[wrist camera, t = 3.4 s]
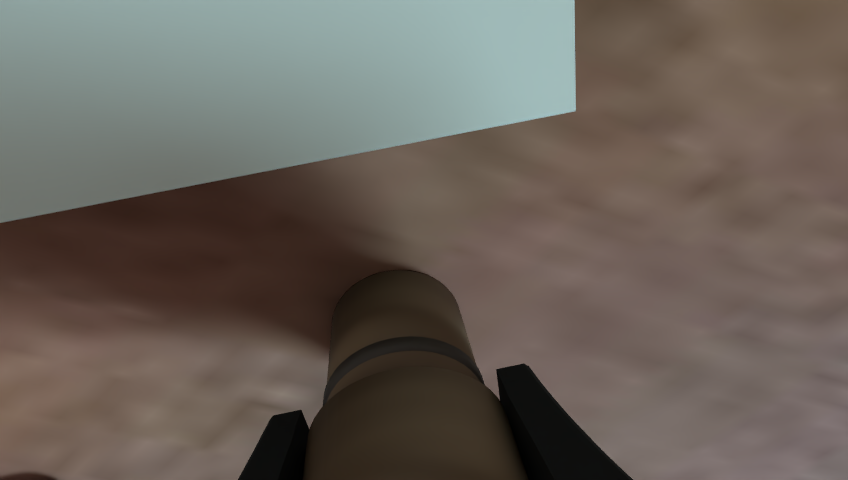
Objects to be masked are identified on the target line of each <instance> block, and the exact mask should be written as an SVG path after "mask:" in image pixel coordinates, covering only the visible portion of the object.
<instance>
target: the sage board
mask: <svg viewBox="0 0 848 480" xmlns="http://www.w3.org/2000/svg"><path fill="white" fill-rule="evenodd" d="M573 111H576V98H575V11H574V0H0V223H3V222H8V221H13V220H18V219H23V218H28V217H33V216H39V215H44V214H49V213H54V212H59V211H64V210H69V209H75V208H80V207H85V206H90V205H95V204H100V203H105V202H110V201H116V200H121V199H126V198H131V197H136V196H141V195H146V194H152V193H157V192H162V191H167V190H172V189H177V188H182V187H188V186H193V185H198V184H203V183H208V182H213V181H218V180H224V179H229V178H234V177H239V176H244V175H249V174H254V173H260V172H265V171H270V170H275V169H280V168H285V167H290V166H296V165H301V164H306V163H311V162H316V161H321V160H326V159H332V158H337V157H342V156H347V155H352V154H357V153H362V152H368V151H373V150H378V149H383V148H388V147H393V146H398V145H404V144H409V143H414V142H419V141H424V140H429V139H434V138H440V137H445V136H450V135H455V134H460V133H465V132H470V131H476V130H481V129H486V128H491V127H496V126H501V125H506V124H512V123H517V122H522V121H527V120H532V119H537V118H542V117H547V116H553V115H558V114H563V113H568V112H573Z"/></svg>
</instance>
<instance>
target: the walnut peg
mask: <svg viewBox="0 0 848 480" xmlns="http://www.w3.org/2000/svg"><path fill="white" fill-rule="evenodd" d="M303 480H529V479H528V476H527V473H526V470H525V468H524V465H523V462H522V459H521V456H520V453H519V450H518V447H517V444H516V441H515V438H514V435H513V432H512V429H511V426H510V424H509V421H508V418H507V415H506V412H505V410H504V407H503V405H502V404H501V402H500V401H499V399H498V397H497V396H496V395H495V394H494V393H493V392H492V391H491V390H490V389H489V388H487V387H486V386H485V385H484V381H483V378H482V375H481V373H480V371H479V369H478V367H477V366H476V363H475V359H474V356H473V353H472V349H471V346H470V343H469V340H468V336H467V333H466V330H465V326H464V323H463V320H462V317H461V313H460V310H459V307H458V304H457V302H456V299H455V298H454V296H453V295H452V293H451V292H450V291H449V290H448V289H447V287H445V286H444V285H443V284H442V283H441V282H439V281H437V280H436V279H434V278H432V277H430V276H428V275H425V274H422V273H419V272H414V271H406V270H393V271H386V272H381V273H378V274H374V275H372V276H369V277H367V278H365V279H363V280H361V281H359V282H358V283H356V284H355V285H354V286H352V287H351V288H350V289H349V290H348V291H347V292H346V293H345V294H344V295H343V296H342V298H341V299H340V301H339V302H338V304H337V306H336V308H335V311H334V314H333V318H332V329H331V341H330V353H329V365H328V378H327V385H326V388H325V392H324V399H323V407H322V408H321V409H320V411H319V412H318V414H317V415H316V417H315V418H314V420H313V422H312V424H311V427H310V430H309V433H308V437H307V445H306V454H305V462H304V471H303Z"/></svg>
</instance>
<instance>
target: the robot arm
mask: <svg viewBox="0 0 848 480" xmlns="http://www.w3.org/2000/svg"><path fill="white" fill-rule="evenodd" d="M496 370H497V379H498V387H499V395H500V402H501V404H502V405H503V407H504V410H505V412H506V415H507V418H508V421H509V424H510V426H511V429H512V432H513V435H514V438H515V441H516V444H517V447H518V450H519V453H520V456H521V459H522V462H523V465H524V468H525V470H526V473H527V476H528V479H529V480H633V479H632V478H631V477H630V476H628V475H627V474H626V473H625V472H624V471H623V470H622V469H621V468H620V467H619V466H618V465H617V464H616V463H615V462H614V461H613V460H611V459H610V458H609V457H608V456H607V455H606V454H605V453H604V452H603V451H602V450H601V449H600V448H599V447H598V446H597V445H596V444H595V443H594V441H593V440H592V439H591V438H590V437H589V436H588V435H587V434H586V433H585V432H584V431H583V430H582V429H581V428H580V427H579V426H578V425H577V424H576V423H575V422H574V421H573V419H572V418H571V417H570V416H569V415H568V414H567V413H566V412H565V411H564V409H563V408H562V407H561V406H560V405H559V404H558V402H557V401H556V400H555V399H554V398H553V397H552V395H551V394H550V393H549V392H548V391H547V389H546V388H545V387H544V386H543V384H542V383H541V382H540V381H539V379H538V378H537V377H536V375H535V374H534V373H533V371H532V370H531V369H530V367H529V366H527V365H525V364H520V365H515V366H510V367H505V368H500V369H496ZM308 433H309V428H308V425H307V423H306V420H305V418H304V415H303V413H302V410H298V411H293V412H288V413H284V414H279V415H274V416H273V417H272V418H271V419H270V421H269V423H268V425H267V426H266V428H265V430H264V432H263V434H262V436H261V438H260V440H259V442H258V444H257V445H256V447H255V449H254V451H253V453H252V455H251V457H250V459H249V460H248V462H247V464H246V466H245V468H244V470H243V471H242V473H241V475H240V477H239V479H238V480H303V471H304V462H305V454H306V445H307V437H308Z"/></svg>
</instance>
